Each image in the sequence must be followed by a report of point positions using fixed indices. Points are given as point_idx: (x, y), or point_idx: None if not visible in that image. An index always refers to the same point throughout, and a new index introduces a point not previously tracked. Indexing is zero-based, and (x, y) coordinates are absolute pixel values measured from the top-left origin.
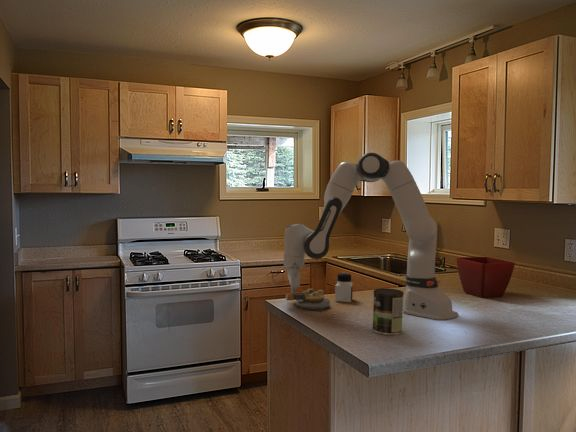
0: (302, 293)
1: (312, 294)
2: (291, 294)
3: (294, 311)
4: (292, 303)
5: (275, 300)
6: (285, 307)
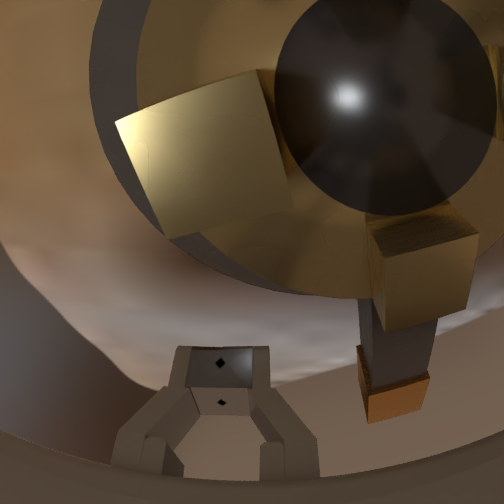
0: (365, 298)
1: (487, 142)
2: (410, 392)
3: (476, 270)
4: (204, 281)
5: (136, 369)
6: (353, 327)
